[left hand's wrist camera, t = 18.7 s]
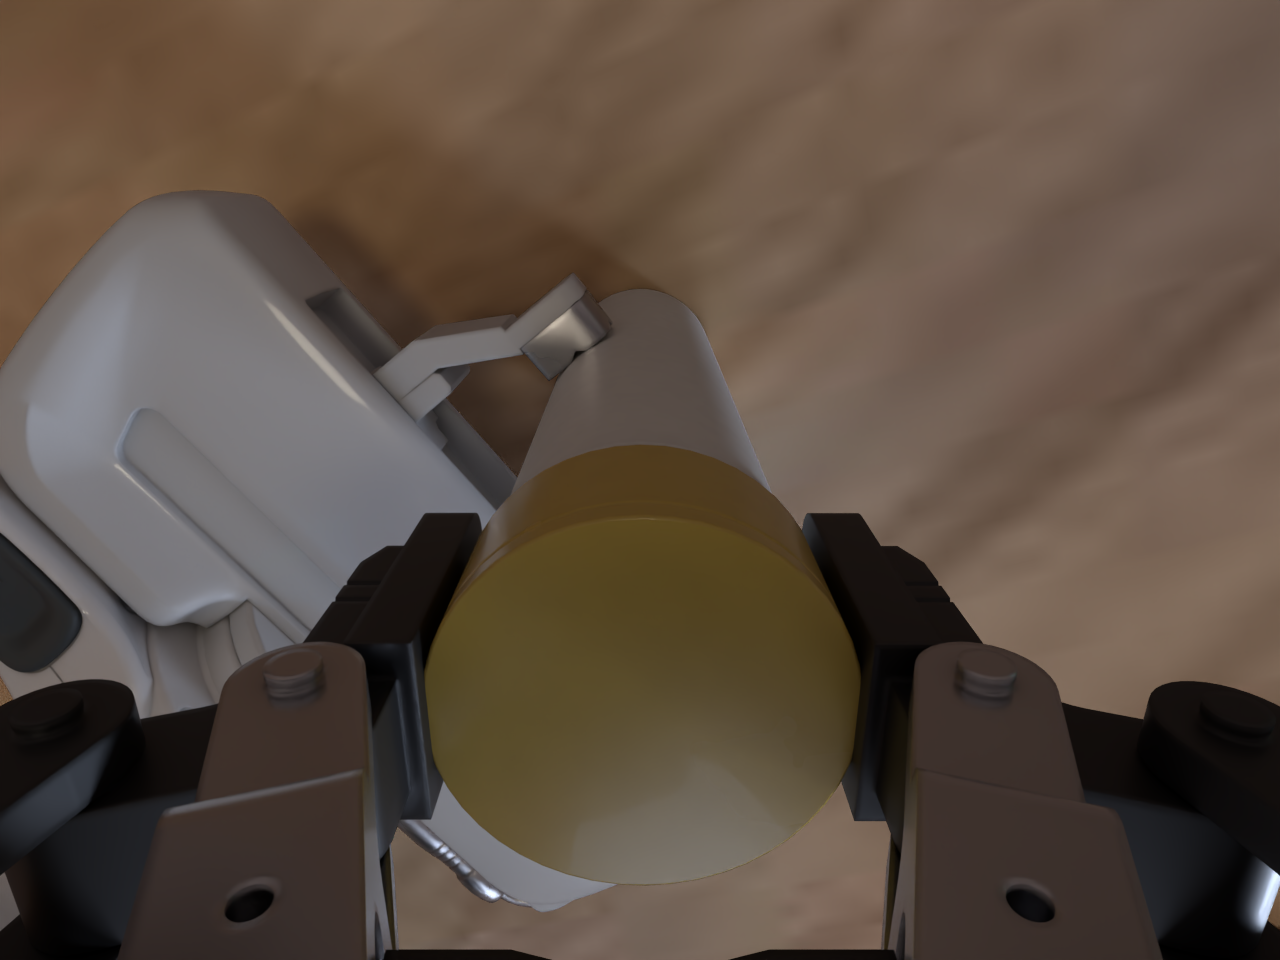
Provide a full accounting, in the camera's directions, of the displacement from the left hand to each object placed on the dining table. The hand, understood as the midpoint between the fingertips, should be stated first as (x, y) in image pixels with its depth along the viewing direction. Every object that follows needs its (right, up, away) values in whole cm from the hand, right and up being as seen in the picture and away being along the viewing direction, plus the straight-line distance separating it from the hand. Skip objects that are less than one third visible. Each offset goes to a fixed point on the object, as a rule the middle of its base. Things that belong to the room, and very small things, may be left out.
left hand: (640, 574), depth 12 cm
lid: (0, -1, -3) cm, 3 cm away
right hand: (+1, +3, +7) cm, 8 cm away
